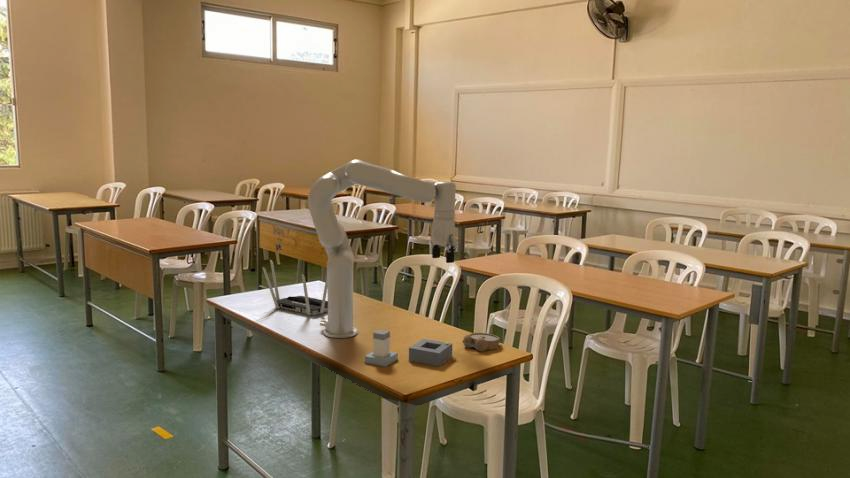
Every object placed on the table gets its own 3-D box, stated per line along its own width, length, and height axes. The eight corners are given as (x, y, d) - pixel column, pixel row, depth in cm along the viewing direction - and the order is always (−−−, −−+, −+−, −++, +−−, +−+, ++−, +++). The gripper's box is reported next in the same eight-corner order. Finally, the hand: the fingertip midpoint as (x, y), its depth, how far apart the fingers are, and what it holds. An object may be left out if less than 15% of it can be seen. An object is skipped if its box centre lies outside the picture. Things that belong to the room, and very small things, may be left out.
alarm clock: (506, 338, 228) (482, 340, 217) (504, 351, 228) (480, 354, 217) (481, 331, 235) (456, 332, 224) (479, 344, 236) (454, 346, 224)
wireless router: (350, 310, 269) (350, 264, 266) (313, 323, 250) (312, 274, 247) (292, 298, 287) (292, 255, 284) (254, 309, 268) (252, 263, 265)
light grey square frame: (364, 362, 208) (364, 356, 208) (376, 355, 215) (377, 349, 215) (385, 366, 205) (385, 360, 204) (397, 359, 212) (397, 352, 211)
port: (408, 360, 211) (409, 346, 210) (423, 351, 220) (423, 337, 220) (438, 366, 206) (439, 352, 205) (452, 356, 216) (452, 342, 215)
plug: (373, 361, 209) (373, 332, 207) (379, 358, 213) (379, 329, 211) (383, 363, 207) (383, 334, 206) (389, 360, 211) (389, 331, 209)
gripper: (423, 212, 239) (422, 256, 242) (448, 218, 224) (446, 265, 227) (440, 211, 243) (439, 255, 245) (466, 217, 228) (464, 263, 231)
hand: (442, 260), depth 236 cm, fingers open, 9 cm apart
